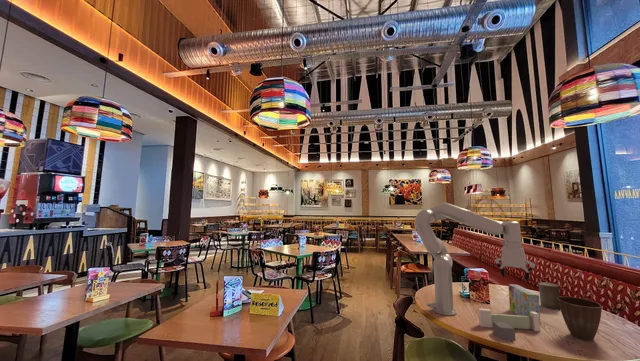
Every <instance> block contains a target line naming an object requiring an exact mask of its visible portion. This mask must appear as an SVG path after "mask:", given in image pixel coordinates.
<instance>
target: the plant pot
mask: <svg viewBox="0 0 640 361" xmlns="http://www.w3.org/2000/svg"><path fill="white" fill-rule="evenodd" d="M558 302H559V306H560V310H559V311H560V312H561V315H562V318H563V321H564V323H565V325H566V327H567V329H568V331H569V333H570V335H571V336H572V337H574V338H576V339H579V340H582V341H587V342H592V341H594V340H595V337H596V335H597V332H598V329H599V327H600V322H601V317H602V311H603V310H602V309H603V305H601V303H598V302H597V301H594V300H593V301H592V300H590V299H585V298H580V297H574V296H560V297H558Z"/></svg>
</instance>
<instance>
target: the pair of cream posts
mask: <svg viewBox="0 0 640 361" xmlns="http://www.w3.org/2000/svg"><path fill="white" fill-rule="evenodd" d="M477 310H478V325H479V326H480V328H481V327H482V328H492V329H493V326H492V317H491V314H492V311H491V309H489V308H478V309H477ZM530 316H531V319H532V329H531V330H532V331H534V332H541V325H540V323H541V319H540V320H539V314H538V313H536V312H531V311H530Z"/></svg>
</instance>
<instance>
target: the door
mask: <svg viewBox="0 0 640 361" xmlns="http://www.w3.org/2000/svg"><path fill="white" fill-rule="evenodd" d="M491 317H492V327H493V322H506V323H507V324H509V325H510V326H512V327H513V328H514V329H524V330H533V329H532V319H531V316H529V315H527V316H519V315H517V314H515V315H514V314H502V313H491Z"/></svg>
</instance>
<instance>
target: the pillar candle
mask: <svg viewBox="0 0 640 361" xmlns="http://www.w3.org/2000/svg"><path fill="white" fill-rule="evenodd" d="M538 288H539V289H538V291H539V304H540V306H541V307H542V308H545V309H549V310H553V311H555V310H556V311H561V310H560V306H559V302H558V297H561V293H560V285H558V284H557V283H556V284H555V283H551V282H544V281H543V282H538Z"/></svg>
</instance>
